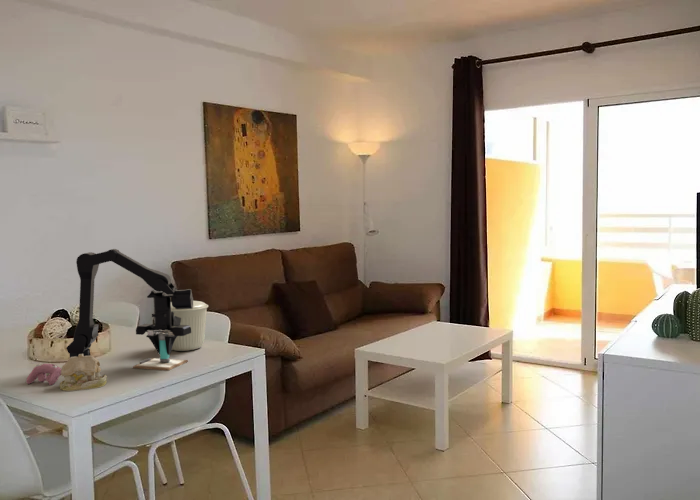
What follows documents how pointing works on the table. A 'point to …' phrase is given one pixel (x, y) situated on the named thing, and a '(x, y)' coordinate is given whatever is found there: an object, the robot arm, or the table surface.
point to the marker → (163, 348)
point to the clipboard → (159, 364)
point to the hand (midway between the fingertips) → (164, 354)
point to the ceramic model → (82, 373)
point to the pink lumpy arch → (41, 373)
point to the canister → (197, 324)
